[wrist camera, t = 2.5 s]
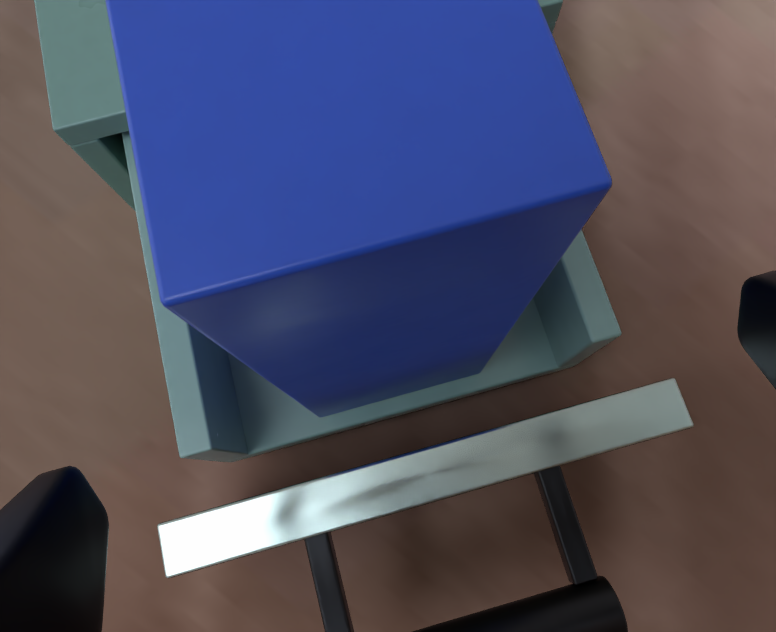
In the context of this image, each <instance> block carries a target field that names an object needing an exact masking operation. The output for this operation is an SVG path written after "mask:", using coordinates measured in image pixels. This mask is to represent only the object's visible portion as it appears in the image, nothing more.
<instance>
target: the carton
mask: <svg viewBox="0 0 776 632" xmlns="http://www.w3.org/2000/svg"><path fill="white" fill-rule="evenodd" d="M105 2H106V7H107V13H108V18H109V24H110V29H111V35H112V40H113V46H114V51H115V56H116V62H117V67H118V73H119V78H120V84H121V89H122V95H123V100H124V106H125V111H126V117H127V122H128V127H129V133H130V138H131V144H132V149H133V155H134V160H135V166H136V171H137V177H138V182H139V187H140V193H141V198H142V204H143V209H144V215H145V220H146V226H147V231H148V237H149V242H150V248H151V253H152V258H153V264H154V269H155V275H156V280H157V286H158V291H159V297H160V302H161V303H162V304H163V306H164V307H165V308H167V309H168V310H170V311H171V312H172V313H174V314H175V315H177V316H178V317H179V318H181V319H182V320H184V321H185V322H186V323H188V324H189V325H191V326H192V327H193V328H195V329H196V330H198V331H199V332H200V333H202V334H203V335H205V336H206V337H207V338H209V339H210V340H212V341H213V342H214V343H216V344H217V345H219V346H220V347H221V348H223V349H224V350H226V351H227V352H228V353H230V354H231V355H233V356H234V357H235V358H237V359H238V360H240V361H241V362H242V363H244V364H245V365H247V366H248V367H249V368H251V369H252V370H254V371H255V372H256V373H258V374H259V375H261V376H262V377H263V378H265V379H266V380H268V381H269V382H270V383H272V384H273V385H275V386H276V387H277V388H279V389H280V390H282V391H283V392H284V393H286V394H287V395H289V396H290V397H291V398H293V399H294V400H296V401H297V402H298V403H300V404H301V405H303V406H304V407H305V408H307V409H308V410H310V411H311V412H312V413H314V414H315V415H317V416H318V417H325V416H328V415H332V414H335V413H339V412H343V411H346V410H350V409H353V408H357V407H361V406H364V405H368V404H371V403H375V402H378V401H382V400H386V399H389V398H393V397H396V396H400V395H403V394H407V393H411V392H414V391H418V390H421V389H425V388H429V387H432V386H436V385H439V384H443V383H446V382H450V381H454V380H457V379H461V378H464V377H468V376H472V375H475V374H479V373H480V372H481V371H482V369H483V368H484V367H485V365H486V364H487V362H488V361H489V359H490V358H491V357H492V355H493V354H494V352H495V351H496V350H497V348H498V347H499V345H500V344H501V342H502V341H503V340H504V338H505V337H506V335H507V334H508V333H509V331H510V330H511V328H512V327H513V325H514V324H515V323H516V321H517V320H518V318H519V317H520V316H521V314H522V313H523V311H524V310H525V308H526V307H527V306H528V304H529V303H530V301H531V300H532V299H533V297H534V296H535V294H536V293H537V291H538V290H539V289H540V287H541V286H542V284H543V283H544V281H545V280H546V279H547V277H548V276H549V274H550V273H551V272H552V270H553V269H554V267H555V266H556V264H557V263H558V262H559V260H560V259H561V257H562V256H563V255H564V253H565V252H566V250H567V249H568V247H569V246H570V245H571V243H572V242H573V240H574V239H575V238H576V236H577V235H578V233H579V232H580V230H581V229H582V228H583V226H584V225H585V223H586V222H587V221H588V219H589V218H590V216H591V215H592V213H593V212H594V211H595V209H596V208H597V206H598V205H599V204H600V202H601V201H602V199H603V198H604V196H605V195H606V194H607V192H608V191H609V189H610V188H611V186H612V179H611V176H610V174H609V171H608V169H607V167H606V164H605V162H604V159H603V157H602V154H601V152H600V150H599V147H598V145H597V142H596V140H595V138H594V135H593V133H592V130H591V128H590V125H589V123H588V121H587V118H586V116H585V113H584V111H583V108H582V106H581V104H580V101H579V99H578V96H577V94H576V92H575V89H574V87H573V84H572V82H571V79H570V77H569V75H568V72H567V70H566V67H565V65H564V62H563V60H562V58H561V55H560V53H559V50H558V48H557V46H556V43H555V41H554V38H553V36H552V33H551V31H550V29H549V26H548V24H547V21H546V19H545V17H544V14H543V12H542V9H541V7H540V4H539V2H538V0H105Z"/></svg>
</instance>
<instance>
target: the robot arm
mask: <svg viewBox="0 0 776 632" xmlns="http://www.w3.org/2000/svg"><path fill="white" fill-rule="evenodd" d="M738 337H739V340H740V343H741V345H742V346H743V348H744V349H745V351H746V352H747V353H748V355H749V356H750V357H751V358H752V360H753V361H754V362H755V364H756V365H757V366H758V367H759V369H760V370H761V371H762V372H763V374H764V375H765V376H766V378H767V379H768V380H769V381H770V383H771V384H772V385H773V387H774V388H775V389H776V271H771V272H767V273H764V274H760V275H757V276H753V277H750V278H748V279H747V280H746V281H745V282H744V284H743V286H742V290H741V299H740V309H739V318H738ZM108 533H109V522H108V516H107V513H106V510H105V508H104V506H103V504H102V503H101V501H100V500H99V498H98V497H97V495H96V494H95V492H94V491H93V489H92V488H91V486H90V484H89V483H88V481H87V480H86V478H85V477H84V475H83V474H82V473H81V471H80V470H79V469H77V468H76V467H72V466H67V467H63V468H60V469H56V470H52V471H49V472H45V473H42V474H40V475H38V476H37V477H36V478H35V479H34V480H32V481H31V482H30V483H29V484H28V485H27V486H26V487H25V488H24V489H23V490H22V491H20V492H19V493H18V494H17V495H16V496H15V497H14V498H13V499H12V500H11V501H10V502H8V503H7V504H6V505H5V506H4V507H3V508H2V509H1V510H0V632H102V622H103V607H104V592H105V577H106V562H107V547H108Z"/></svg>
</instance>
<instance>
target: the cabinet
mask: <svg viewBox="0 0 776 632" xmlns="http://www.w3.org/2000/svg"><path fill="white" fill-rule="evenodd" d="M34 2H35V9H36V16H37V23H38V29H39V36H40V43H41V50H42V57H43V64H44V71H45V78H46V84H47V91H48V98H49V105H50V112H51V119H52V126H53V130H54V131H55V132H56V133H57V134H58V135H59V136H60V137H61V138H62V139H63V140H64V141H65V142H66V143H67V144H68V145H70V146H71V148H72V149H73V150H74V151H75V152H76V153H77V154H78V155H79V156H80V157H81V158H82V159H83V160H84V161H85V162H86V163H87V164H88V165H89V166H90V167H91V168H92V169H93V170H94V171H95V172H96V173H97V174H98V175H99V176H100V177H101V178H102V179H103V180H104V181H105V182H106V183H107V184H108V185H109V186H110V187H111V188H113V189H114V190H115V191H116V192H117V193H118V194H119V195H120V196H121V197H122V198H123V199H124V200H125V201H126V202H127V203H128V204H129V205H130V206H131V207H132V208H133V209H134V210H135V205H134V199H133V194H132V188H131V182H130V177H129V171H128V166H127V160H126V155H125V149H124V143H123V138H122V132H126V131H129V127H128V122H127V117H126V111H125V106H124V100H123V95H122V89H121V84H120V78H119V73H118V67H117V62H116V56H115V51H114V46H113V40H112V35H111V29H110V24H109V18H108V13H107V7H106V2H105V0H34ZM538 2H539V4H540V7H541V9H542V12H543V14H544V17H545V19H546V21H547V24H548V26H549V29H550V31H551V33H553V30H554V27H555V22H556V21H557V18H558V15H559V12H560V9H561V6H562V3H563V0H538ZM135 211H136V210H135Z"/></svg>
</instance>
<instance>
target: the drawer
mask: <svg viewBox="0 0 776 632" xmlns="http://www.w3.org/2000/svg"><path fill="white" fill-rule="evenodd" d="M122 138H123V143H124V149H125V155H126V160H127V166H128V171H129V177H130V182H131V188H132V194H133V199H134V205H135V210H136V216H137V221H138V227H139V233H140V238H141V244H142V249H143V255H144V261H145V266H146V272H147V277H148V283H149V288H150V294H151V300H152V305H153V311H154V316H155V322H156V327H157V333H158V339H159V344H160V350H161V355H162V361H163V367H164V372H165V378H166V383H167V389H168V394H169V400H170V406H171V411H172V417H173V422H174V428H175V433H176V439H177V445H178V450H179V456H180V458H187V459H198V460H209V461H219V462H235V461H239V460H243V459H246V458H250V457H253V456H257V455H260V454H264V453H267V452H271V451H275V450H278V449H282V448H285V447H289V446H292V445H296V444H300V443H303V442H307V441H310V440H314V439H317V438H321V437H324V436H328V435H332V434H335V433H339V432H342V431H346V430H349V429H353V428H356V427H360V426H364V425H367V424H371V423H374V422H378V421H381V420H385V419H389V418H392V417H396V416H399V415H403V414H406V413H410V412H413V411H417V410H421V409H424V408H428V407H431V406H435V405H438V404H442V403H446V402H449V401H453V400H456V399H460V398H463V397H467V396H470V395H474V394H478V393H481V392H485V391H488V390H492V389H495V388H499V387H503V386H506V385H510V384H513V383H517V382H520V381H524V380H527V379H531V378H535V377H538V376H542V375H545V374H549V373H552V372H556V371H560V370H563V369H567V368H570V367H574V366H575V365H577V364H578V363H580V362H581V361H583V360H584V359H586V358H587V357H589V356H590V355H592V354H593V353H595V352H596V351H598V350H599V349H601V348H602V347H604V346H605V345H607V344H608V343H610V342H611V341H613V340H614V339H616V338H617V337H619V336H620V335H621V330H620V327H619V324H618V322H617V319H616V317H615V314H614V312H613V309H612V306H611V304H610V301H609V299H608V296H607V294H606V291H605V288H604V286H603V283H602V281H601V278H600V276H599V273H598V270H597V268H596V265H595V263H594V260H593V258H592V255H591V252H590V250H589V247H588V245H587V242H586V240H585V237H584V234H583V232H582V229H581V230H580V232H579V233H578V235H577V236H576V238H575V239H574V240H573V242H572V243H571V245H570V246H569V247H568V249H567V250H566V252H565V253H564V255H563V256H562V257H561V259H560V260H559V262H558V263H557V264H556V266H555V267H554V269H553V270H552V272H551V273H550V274H549V276H548V277H547V279H546V280H545V281H544V283H543V284H542V286H541V287H540V289H539V290H538V291H537V293H536V294H535V296H534V297H533V299H532V300H531V301H530V303H529V304H528V306H527V307H526V308H525V310H524V311H523V313H522V314H521V316H520V317H519V318H518V320H517V321H516V323H515V324H514V325H513V327H512V328H511V330H510V331H509V333H508V334H507V335H506V337H505V338H504V340H503V341H502V342H501V344H500V345H499V347H498V348H497V350H496V351H495V352H494V354H493V355H492V357H491V358H490V359H489V361H488V362H487V364H486V365H485V367H484V368H483V369H482V371H481V372H480V373H479V374H475V375H472V376H468V377H464V378H461V379H457V380H454V381H450V382H446V383H443V384H439V385H436V386H432V387H429V388H425V389H421V390H418V391H414V392H411V393H407V394H403V395H400V396H396V397H393V398H389V399H386V400H382V401H378V402H375V403H371V404H368V405H364V406H361V407H357V408H353V409H350V410H346V411H343V412H339V413H335V414H332V415H328V416H325V417H318V416H317V415H315V414H314V413H312V412H311V411H310V410H308V409H307V408H305V407H304V406H303V405H301V404H300V403H298V402H297V401H296V400H294V399H293V398H291V397H290V396H289V395H287V394H286V393H284V392H283V391H282V390H280V389H279V388H277V387H276V386H275V385H273V384H272V383H270V382H269V381H268V380H266V379H265V378H263V377H262V376H261V375H259V374H258V373H256V372H255V371H254V370H252V369H251V368H249V367H248V366H247V365H245V364H244V363H242V362H241V361H240V360H238V359H237V358H235V357H234V356H233V355H231V354H230V353H228V352H227V351H226V350H224V349H223V348H221V347H220V346H219V345H217V344H216V343H214V342H213V341H212V340H210V339H209V338H207V337H206V336H205V335H203V334H202V333H200V332H199V331H198V330H196V329H195V328H193V327H192V326H191V325H189V324H188V323H186V322H185V321H184V320H182V319H181V318H179V317H178V316H177V315H175V314H174V313H172V312H171V311H170V310H168V309H167V308H165V307H164V306H163V304H162V303H161V302H160V297H159V291H158V286H157V280H156V275H155V269H154V264H153V258H152V253H151V248H150V242H149V237H148V231H147V226H146V220H145V215H144V209H143V204H142V198H141V193H140V187H139V182H138V177H137V171H136V166H135V160H134V155H133V149H132V144H131V138H130V133H129V131H126V132H122ZM693 426H694V425H693V422H692V419H691V417H690V414H689V412H688V409H687V407H686V404H685V402H684V400H683V397H682V395H681V392H680V390H679V387H678V385H677V382H676V380H675V379H674V378H669V379H666V380H662V381H659V382H655V383H652V384H648V385H645V386H641V387H638V388H634V389H631V390H627V391H624V392H620V393H617V394H613V395H610V396H606V397H602V398H599V399H595V400H592V401H588V402H585V403H581V404H578V405H574V406H571V407H567V408H564V409H560V410H557V411H553V412H550V413H546V414H543V415H539V416H536V417H532V418H528V419H525V420H521V421H518V422H514V423H511V424H507V425H504V426H500V427H497V428H493V429H490V430H486V431H483V432H479V433H476V434H472V435H469V436H465V437H461V438H458V439H454V440H451V441H447V442H444V443H440V444H437V445H433V446H430V447H426V448H423V449H419V450H416V451H412V452H409V453H405V454H402V455H398V456H395V457H391V458H387V459H384V460H380V461H377V462H373V463H370V464H366V465H363V466H359V467H356V468H352V469H349V470H345V471H342V472H338V473H335V474H331V475H328V476H324V477H320V478H317V479H313V480H310V481H306V482H303V483H299V484H296V485H292V486H289V487H285V488H282V489H278V490H275V491H271V492H268V493H264V494H261V495H257V496H254V497H250V498H246V499H243V500H239V501H236V502H232V503H229V504H225V505H222V506H218V507H215V508H211V509H208V510H204V511H201V512H197V513H194V514H190V515H187V516H183V517H179V518H176V519H172V520H169V521H165V522H162V523H159V524H158V526H157V528H158V534H159V540H160V546H161V552H162V558H163V564H164V570H165V576H166V578H172V577H175V576H179V575H182V574H186V573H189V572H193V571H196V570H200V569H203V568H206V567H210V566H213V565H217V564H220V563H224V562H227V561H231V560H234V559H238V558H241V557H245V556H248V555H252V554H255V553H259V552H262V551H266V550H269V549H272V548H276V547H279V546H283V545H286V544H290V543H293V542H297V541H300V540H304V539H305V544H306V549H307V553H308V558H309V562H310V567H311V571H312V575H313V580H314V584H315V589H316V593H317V598H318V602H319V607H320V611H321V615H322V620H323V624H324V629H325V632H354V630H353V625H352V621H351V617H350V613H349V608H348V604H347V600H346V596H345V592H344V587H343V583H342V579H341V575H340V570H339V566H338V562H337V558H336V553H335V549H334V545H333V541H332V536H331V532H332V531H335V530H338V529H342V528H345V527H349V526H352V525H356V524H359V523H363V522H366V521H370V520H373V519H377V518H380V517H384V516H387V515H391V514H394V513H397V512H401V511H404V510H408V509H411V508H415V507H418V506H422V505H425V504H429V503H432V502H436V501H439V500H443V499H446V498H450V497H453V496H457V495H460V494H463V493H467V492H470V491H474V490H477V489H481V488H484V487H488V486H491V485H495V484H498V483H502V482H505V481H509V480H512V479H516V478H519V477H523V476H526V475H529V474H533V473H534V476H535V479H536V482H537V485H538V488H539V491H540V494H541V497H542V500H543V503H544V506H545V509H546V512H547V515H548V518H549V521H550V524H551V527H552V531H553V534H554V537H555V540H556V543H557V546H558V549H559V552H560V555H561V558H562V561H563V564H564V567H565V570H566V573H567V576H568V579H569V581H570V582H571V583H573V584H571V585H568V586H564V587H561V588H558V589H554V590H551V591H547V592H544V593H541V594H537V595H534V596H531V597H527V598H524V599H521V600H517V601H514V602H510V603H507V604H504V605H500V606H497V607H494V608H490V609H487V610H484V611H480V612H477V613H473V614H470V615H467V616H463V617H460V618H457V619H453V620H450V621H446V622H443V623H440V624H436V625H433V626H430V627H426V628H423V629H420V630H416V631H413V632H628V628H627V622H626V618H625V615H624V612H623V609H622V607H621V604H620V602H619V599H618V597H617V595H616V593H615V591H614V589H613V588H612V586H611V585H610V583H609V582H608V580H607V579H606V578H605V577H603V576H597V573H596V570H595V567H594V564H593V561H592V558H591V555H590V553H589V550H588V547H587V544H586V541H585V538H584V535H583V532H582V529H581V526H580V523H579V520H578V517H577V514H576V511H575V508H574V506H573V503H572V500H571V497H570V494H569V491H568V488H567V485H566V482H565V479H564V476H563V473H562V470H561V467H560V466H561V465H564V464H568V463H571V462H575V461H578V460H582V459H585V458H589V457H592V456H595V455H599V454H602V453H606V452H609V451H613V450H616V449H620V448H623V447H627V446H630V445H634V444H637V443H641V442H644V441H648V440H651V439H655V438H658V437H661V436H665V435H668V434H672V433H675V432H679V431H682V430H686V429H689V428H692V427H693Z"/></svg>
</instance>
